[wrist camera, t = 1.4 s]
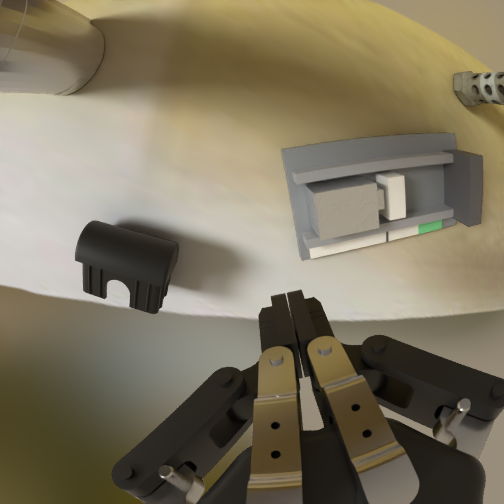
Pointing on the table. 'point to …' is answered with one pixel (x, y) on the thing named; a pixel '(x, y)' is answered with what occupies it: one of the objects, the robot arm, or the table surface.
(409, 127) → the table surface
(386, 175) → the white upright block
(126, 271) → the end cap
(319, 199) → the grey textured block
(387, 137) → the gauge board
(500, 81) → the grenade model
